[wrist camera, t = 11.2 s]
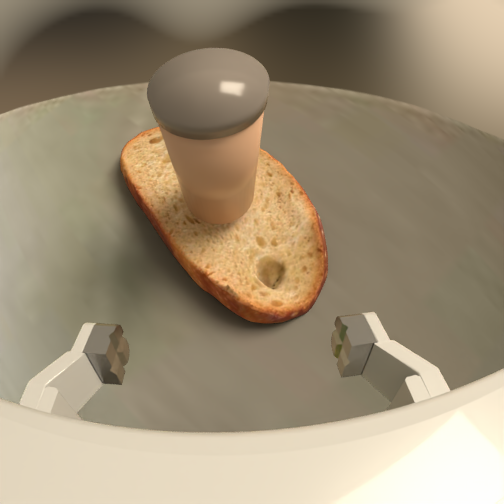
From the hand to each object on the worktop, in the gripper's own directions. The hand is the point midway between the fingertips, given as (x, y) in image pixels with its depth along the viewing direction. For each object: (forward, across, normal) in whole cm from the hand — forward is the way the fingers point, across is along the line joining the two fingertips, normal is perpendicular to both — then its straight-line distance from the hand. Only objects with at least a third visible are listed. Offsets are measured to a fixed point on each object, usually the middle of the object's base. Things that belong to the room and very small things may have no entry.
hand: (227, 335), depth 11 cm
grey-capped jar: (+14, +1, -1) cm, 14 cm away
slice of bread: (+15, +1, +2) cm, 16 cm away
